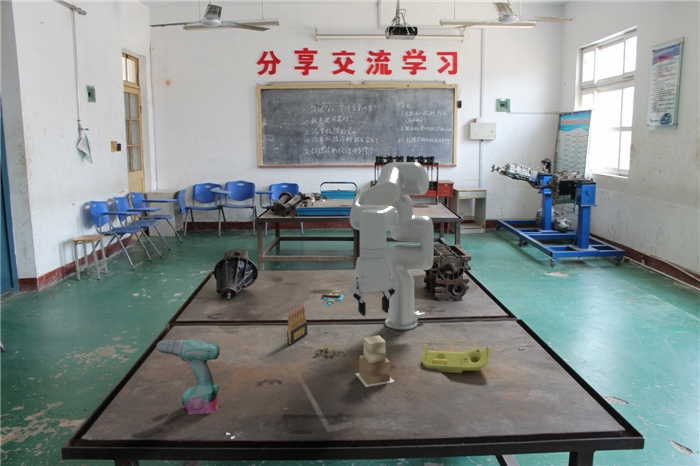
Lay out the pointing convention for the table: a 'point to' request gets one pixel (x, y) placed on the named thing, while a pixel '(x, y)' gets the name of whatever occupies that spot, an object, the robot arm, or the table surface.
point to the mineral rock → (328, 353)
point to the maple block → (374, 349)
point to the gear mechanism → (335, 295)
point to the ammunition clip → (296, 325)
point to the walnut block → (374, 371)
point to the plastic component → (455, 360)
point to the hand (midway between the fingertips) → (373, 312)
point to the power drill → (196, 372)
